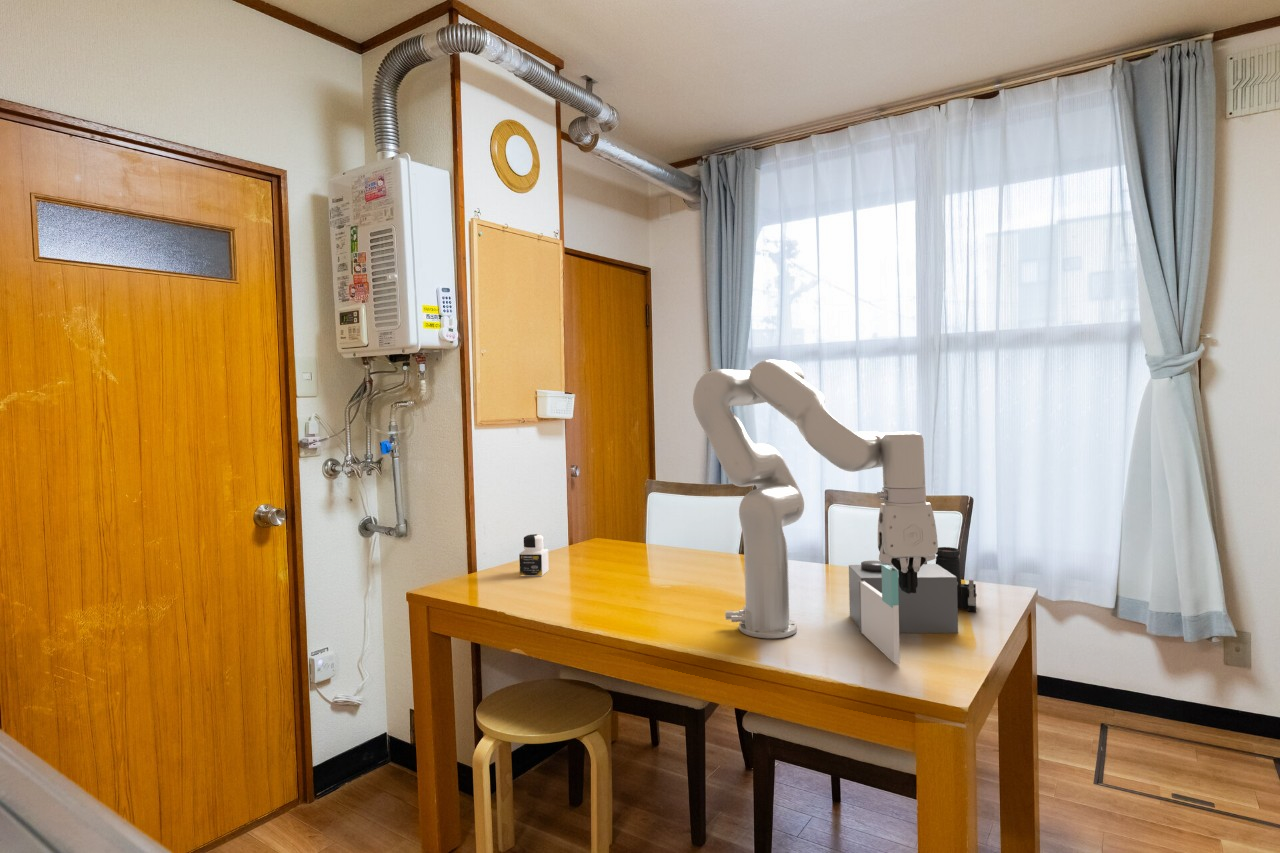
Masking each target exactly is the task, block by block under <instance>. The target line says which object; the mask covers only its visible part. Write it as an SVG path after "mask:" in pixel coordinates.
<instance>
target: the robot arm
mask: <svg viewBox="0 0 1280 853" xmlns="http://www.w3.org/2000/svg"><path fill="white" fill-rule="evenodd" d="M765 403H767V404H768V405H770V406H771V407H773V408H774V409H775V410H776V411H778V412H779V413H780V414H782V415H783V416H784V417H785V418H787V419H788V420H789V421H790V422H792V423H793V424H794V425H795V426H796V427H797V429H798V431H799V433H800V434H801V436H802V437H803V438H804V439H805V441H806V442H807V443H808V445H809V446H810V447H811V448H813V450H815V451H816V452H817V453H818V454H819V455H820V456H822V457H823V458H824V459H826V460H827V461H828V462H830V463H831V464H832V465H834V466H835V467H838V469H841V470H844V471H846V472H851V473H855V472H861V471H864V470H865V471H866V470H871V469H875V468H882V484H883V487H882V488H881V489H882V490H881V491H877V492H876V497H877V499H882V501H883V503H880V508H879V513H878V521H877V549H878V552H879V555H878V561H881V562H883V563H889V564H892V565H893V566H894V567H895V568H896V569H897V570H898V575H899V587H900V588H901V590H902V591H904V592H906V593H907V594H910V593H916V587H917V586H918V582H917V572H919V570H920V567H921V566H922V565H923V564H924V563H925V562H927V563H928V562H930V561H934V560H936V556H937V555H936V553H937V551H938V548H939V544H938V534H937V526H936V519H935V515H934V510H933V508H932V504H931V502H927V496H926V495H927V494H926V492H927V491H926V474H925V473H926V471H925V470H926V468H925V443H924V438H923V435H922V434H921V433H919V432H917V431H895V432H894V431H893V432H879V431H872V430H871V431H870V430H868V431H855V432H854V431H852V429H850V428H848V427H846V426H845V425H844V424H843V423H841V422H839V420H837V419H836V418H835V417H833V415H831V414H830V413H829V411H828V410H827V408H826V407H825V403H826V398H825V395H824V393H822V392H821V391H819V390H818V389H817V388H815V387H814V386H813V385H811V384H810V383H809V382H807V381H806V380H805V375H804V373H803V371H802V369H801V368H800V367H799V365H797V364H796V363H794V362H792V361H787V360H781V359H780V360H779V359H765V360H762V361H759V362H758V363H756V364H755V365H754V366H753V367H752V368H751V369H750V368H749V369H731V368H719V369H718V368H717V369H713V370H709V371H708V372H705V373H704V374H703V375H702V376H700V378H699V380H698V381H697V382H696V385H695V387H694V390H693V396H692V406H693V409H694V410H693V411H694V413H695V416H696V419H697V421H698V423H699V424H700V426H701V428H702V429H703V432H704V433H705V435H706V436H707V439H708V441H709V442H710V444H711V445H710V446H711V448H712V449H713V451H714V453H715V456H716V457H717V459H718V462H719V463H720V465H721V467H722V470H723V471H724V474H725V475H726V478H727V479H728V480H729V482H730V483H731V484H733V485H734V486H736V487H740V488H742V487H750V486H752V487H753V486H755V487H756V488H755V489H752V490H750V491H749V492H747V494H745V495H744V496H743V497H742V499H741V501H740V503H739V504H740V505H739V507H738V508H739V509H738V516H739V522H740V527H741V531H742V532H741V533H742V538H743V552H744V553H743V558H744V580H745V581H744V586H745V587H744V591H745V592H744V595H745V596H744V597H745V605H743V609H739V610H736V611H735V610H734V611H733V610H725V614H724V615H725V620H730V621H731V623H737V622H739V624H738V629H739V631H740V632H741V633H743V634H744V635H747V636H749V637H754V638H758V639H782V638H786V637H790V636H793V635H794V634H795V633H797V630H798V628H797V623H796V622H794V621H792V620H791V619H790V597H789V596H790V590H789V588H790V587H789V584H790V583H789V553H788V545H787V540H786V536H785V534H784V531H783V530H784V529H783V527H785V526H789V525H792V524H794V523H796V522H798V521H799V519H800V518H802V516H803V514H804V510H805V501H804V497H803V494H802V492H801V490H800V488H799V485H798V484H797V482H796V480H795V478H794V477H793V474H792V472H791V470H790V468H789V467H788V465H787V463H786V461H785V460H784V458H783V456H782V455H781V453H780V452H779V451H778V450H777V449H776V448H775V447H774V446H772V445H770V444H768V443H762V442H761V443H760V442H758V443H757V442H756V443H755V442H753V441H752V439H751V438H750V436H749V434H748V433H747V431H746V428H745V426H744V424H743V423H742V421H741V420H740V419H739V417H737V416H736V414H735V413H734V412H733V411H732V409H731V407H738V406H739V407H740V406H742V407H743V406H751V405H756V404H765ZM906 558H908V563H907V562H906Z"/></svg>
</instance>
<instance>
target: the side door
mask: <svg viewBox="0 0 1280 853" xmlns="http://www.w3.org/2000/svg"><path fill="white" fill-rule="evenodd" d="M858 582H859V628H860V629H859V628H858V629H859V632H860V633H861V634H863V635H864V637H866V638H867V639H868V640H869V641H870V642H871V643H872V644H873V645H874V646H875V647H877V649H878V650H879V651H880V652H882V653H883V655H885V656H886V657H887V658H888V660H890V661H891V662H892V663H893V664H900V663H901V661H900V660H901V659H900V658H901V656H900V633H899V598H898V571H897V570H896V569H894V568H892V567H891V566H889V565H882V593H880V592H879V591H878V590H876V589H875V588H873V587H872V586H871V585H869V584H868V583H866V582H865V581H864V580H859V581H858Z"/></svg>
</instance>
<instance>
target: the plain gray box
mask: <svg viewBox="0 0 1280 853" xmlns="http://www.w3.org/2000/svg"><path fill="white" fill-rule="evenodd" d="M882 565H889V563H883V562H881V561H879V560H864V561H861V562H860V564H848V587H849V588H848V589H849V590H848V593H849V594H848V598H849V599H848V600H849V602H848V603H849V617H850V618H851V620H852V621H853V622H854V624H855V625H856V626H857V628H858V629H859V630H860V628H859V582H858V581H859V580H864V581H865V582H866V583H868V584H869V585H871V586H872V587H873V588H875V589H876V590H878V591H879V592H880V593H882ZM889 566H891V567H892V568H894V569H896V568H895V567H894V566H893V565H889ZM896 570H897V569H896ZM897 571H898V570H897ZM917 582H918V586H917V587H916V593H910V594H907V593H906V592H904V591H902V590H901V588H900V587H899V575H898V598H899V634H959V620H958V619H959V615H958V611H959V609H958V605H957V577H956V576H954V575H953V574H951V573H950V572H948V571H947V570H945V569H944V568H942V567H941V566H939V565H938V564H936V563H933V564H931V563H930V564H929V563H927V564H923V565H922V566H921V567H920V570H919V572H917Z"/></svg>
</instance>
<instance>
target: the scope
mask: <svg viewBox="0 0 1280 853" xmlns="http://www.w3.org/2000/svg"><path fill="white" fill-rule="evenodd" d="M960 555H961V550H960V549H958V548H957V547H956V548H955V547H950V546H941V547H940V546H938V551H937V553H936V554H935V556H936V558H935V564H938V565H939V566H941V567H942V568H944V569H945V570H947V571H948V572H950V573H951V574H953V575H954V576H956V577H957V605H958V610H967V612H969V613H970V612H974V613H977V596H978V594H977V591H976V590H977V588H976V587H977V585H976V583H975V582H974V581H975V580H974V579H968V584H967V583H962V578H961V563H960V557H959V556H960Z"/></svg>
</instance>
